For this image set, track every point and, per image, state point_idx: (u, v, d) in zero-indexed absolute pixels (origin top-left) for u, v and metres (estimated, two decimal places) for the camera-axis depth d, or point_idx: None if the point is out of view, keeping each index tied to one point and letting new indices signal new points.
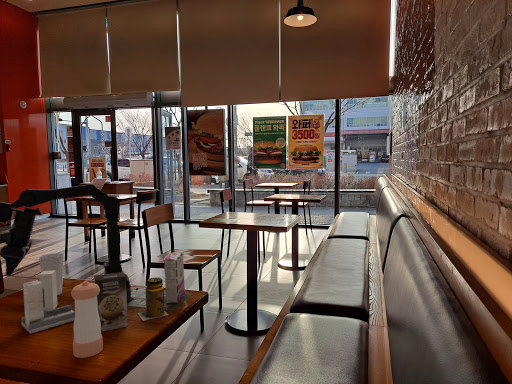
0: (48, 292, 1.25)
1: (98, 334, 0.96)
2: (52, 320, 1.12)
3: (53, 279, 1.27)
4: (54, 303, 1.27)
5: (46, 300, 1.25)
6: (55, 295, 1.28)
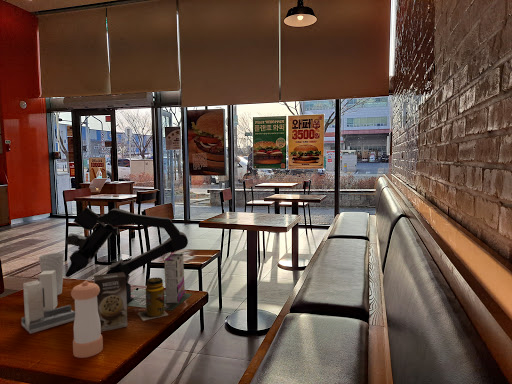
0: (48, 292, 1.25)
1: (98, 334, 0.96)
2: (52, 320, 1.12)
3: (53, 279, 1.27)
4: (54, 303, 1.27)
5: (46, 300, 1.25)
6: (55, 295, 1.28)
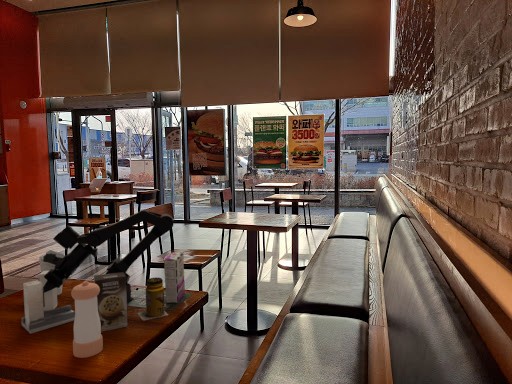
0: (48, 292, 1.25)
1: (98, 334, 0.96)
2: (52, 320, 1.12)
3: None
4: (54, 303, 1.27)
5: (46, 300, 1.25)
6: (55, 295, 1.28)
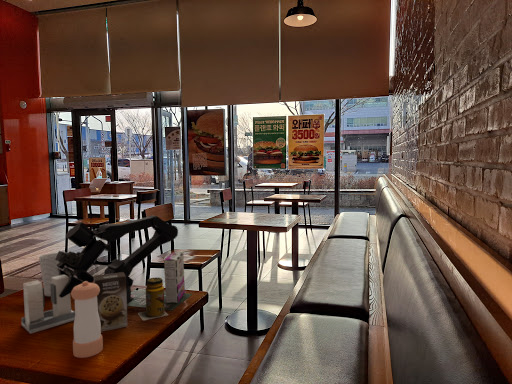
0: (66, 297, 1.16)
1: (98, 334, 0.96)
2: (52, 320, 1.12)
3: None
4: None
5: (63, 306, 1.16)
6: None
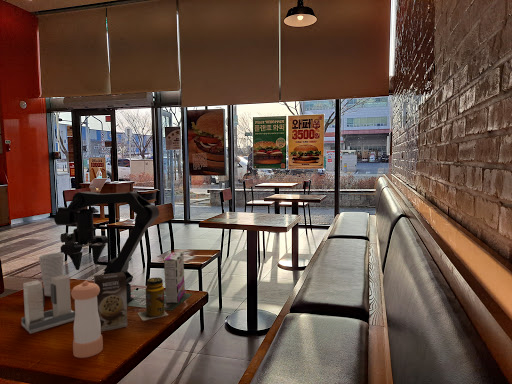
0: (66, 297, 1.16)
1: (98, 334, 0.96)
2: (52, 320, 1.12)
3: None
4: None
5: (63, 306, 1.16)
6: None
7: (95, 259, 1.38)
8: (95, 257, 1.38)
